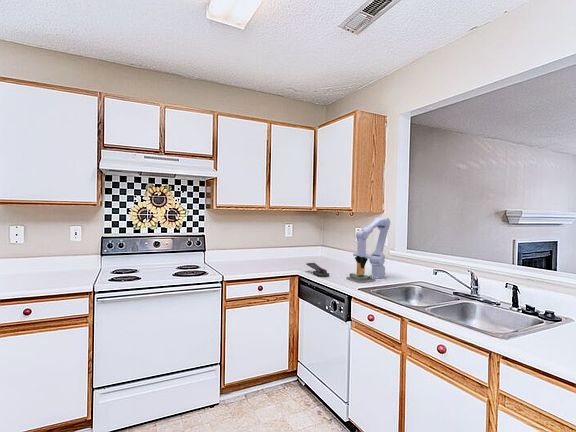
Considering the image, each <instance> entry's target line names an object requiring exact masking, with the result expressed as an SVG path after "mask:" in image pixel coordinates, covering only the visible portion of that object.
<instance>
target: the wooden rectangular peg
mask: <svg viewBox="0 0 576 432" xmlns="http://www.w3.org/2000/svg"><path fill="white" fill-rule="evenodd" d="M365 269H366V266H365V267H364V268H361V262H358V263H357V262H356V274H358V275H366V274H365Z"/></svg>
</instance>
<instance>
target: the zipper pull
mask: <svg viewBox="0 0 576 432" xmlns="http://www.w3.org/2000/svg"><path fill="white" fill-rule="evenodd" d="M305 265H306V266H308V267H310V268H311V269H313V270H314V271H312V275H314V276H316V277H318V278H330V273H329V272H328V270H327V269H325V268H323V267H320V265H318V264H317V263H316V262H306V263H305Z"/></svg>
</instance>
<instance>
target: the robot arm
mask: <svg viewBox="0 0 576 432" xmlns="http://www.w3.org/2000/svg"><path fill="white" fill-rule="evenodd" d="M390 226H391V220H390V218H389V217H375V218H374V220H373V221H372V222H371V223H370V225H367V224H366V225H365V227H363V228H362V229H361V230H358V231H357V232H356V234H355V238H356V241H357V243H356V244H357V248H356V250H357V251H356V252H354V253H353V254H352V255H353V257H354V259H355V261H356V264H357V263H358V262H361V268H364V267H365V268H366V264H367V261H369V263H370V265H371V274H370V275H369V276H370V278H371V275H374V279H383V278H386V268H385V265H384V264H385V261H386V260H385V257H386V256H385V254H384V253H383V252H384V248H385V243H386V239H387V237H388V231H389V230H390ZM376 228H377V230H379V234H378V237H377V242H376V246H375V250H374V251H372V252H371V254H370V255H368V254H366V252H367V250H366V249H367V239H368V238H369V235H371V233H373V231H374V229H376Z"/></svg>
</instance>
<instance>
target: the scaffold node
mask: <svg viewBox="0 0 576 432" xmlns="http://www.w3.org/2000/svg"><path fill="white" fill-rule="evenodd" d="M370 276H371V277H370ZM376 279H377V278H374V275H371V274H370V275H367V274H363V275H358V274H357V273H354V272H351V273H349V276H346V280H348V281H351V282H354V283H357V284H364V283H365V284H366V283H371V282H376Z"/></svg>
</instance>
